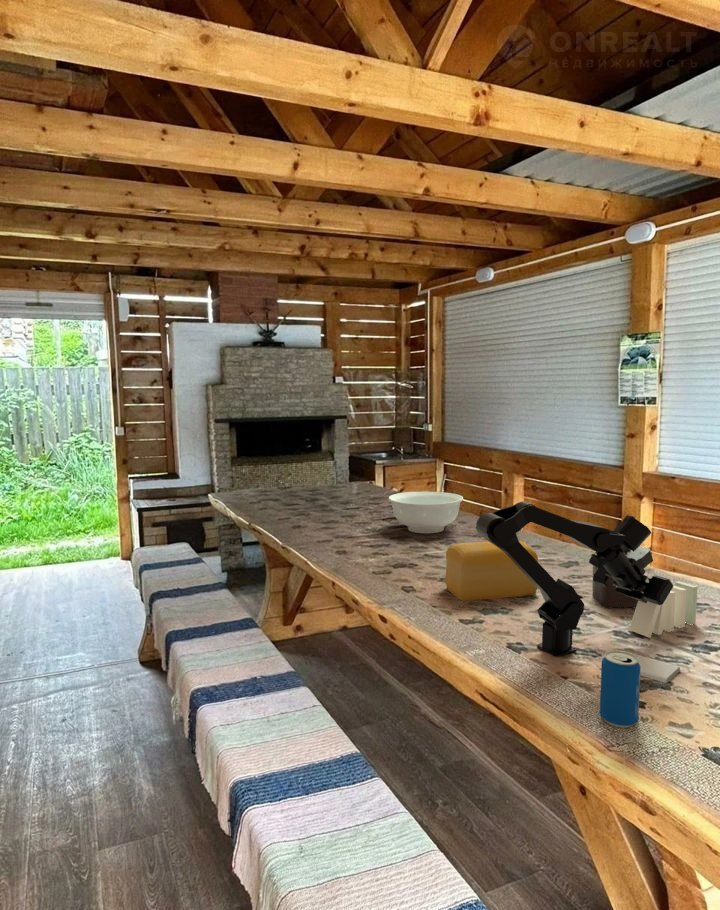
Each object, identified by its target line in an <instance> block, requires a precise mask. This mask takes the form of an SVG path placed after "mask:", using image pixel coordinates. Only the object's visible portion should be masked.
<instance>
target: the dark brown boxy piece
mask: <svg viewBox="0 0 720 910" xmlns="http://www.w3.org/2000/svg"><path fill="white" fill-rule="evenodd" d="M596 570H597V567H595V566H593V565H592V576H593V575H594V573H595V571H596ZM613 582H614V579H611V578H608V579H607V581H606V584H607V586H606V587H602V586H599V585H596V583H595V582H594V581H593V580H592V594H591V595H592V598H593V599H594V600H595V601H597V602H598V603H599V604H601V605H602V606H603V607H605V608H606V609H636V606H637V603H638V600H636V599H634V598H631V597H629V596H626V595H624V594H621V593H618V592H616V588H617V587H616V586H614V585H613Z"/></svg>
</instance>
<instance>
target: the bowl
mask: <svg viewBox="0 0 720 910" xmlns="http://www.w3.org/2000/svg"><path fill="white" fill-rule="evenodd" d="M388 501H389V502H390V504H391V506H392V511H393V515H394V517H395V518H396V519H397V521H398V522H399V523H401V524H402V525H404V526H407V529H408V531H409V532H412V533H417V534H437V533H441V532H443V531H444V529H445V526H449V524H451V523H453V522H454V520H455V519H456V518H457V517H458V514H459V511H460V505H461V503H462V502H463V501H464V496H463V495H460V494H457V493H452V492H442V491H407V492H398V493H395V494H394V493H393V494H391V495H389V497H388Z"/></svg>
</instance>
